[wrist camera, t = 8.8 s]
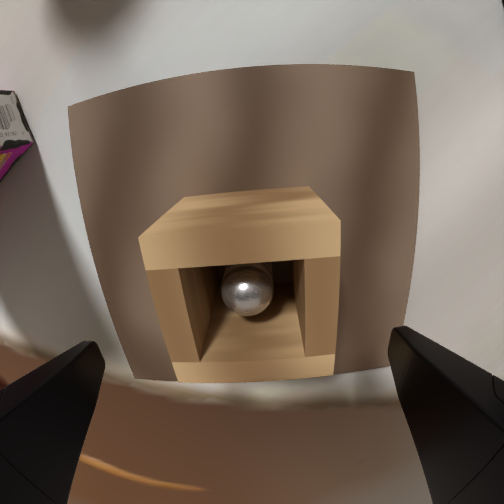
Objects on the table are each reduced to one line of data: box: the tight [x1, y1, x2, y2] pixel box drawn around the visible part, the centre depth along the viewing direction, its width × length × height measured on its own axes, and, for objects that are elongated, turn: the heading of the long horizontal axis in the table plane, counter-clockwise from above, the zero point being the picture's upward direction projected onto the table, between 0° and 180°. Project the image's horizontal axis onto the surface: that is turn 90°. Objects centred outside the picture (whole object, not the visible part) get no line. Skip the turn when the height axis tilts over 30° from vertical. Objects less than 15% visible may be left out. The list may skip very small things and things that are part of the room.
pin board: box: [68, 64, 420, 381], centre depth 14 cm, size 18×18×6 cm
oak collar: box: [138, 186, 341, 383], centre depth 13 cm, size 6×6×6 cm
